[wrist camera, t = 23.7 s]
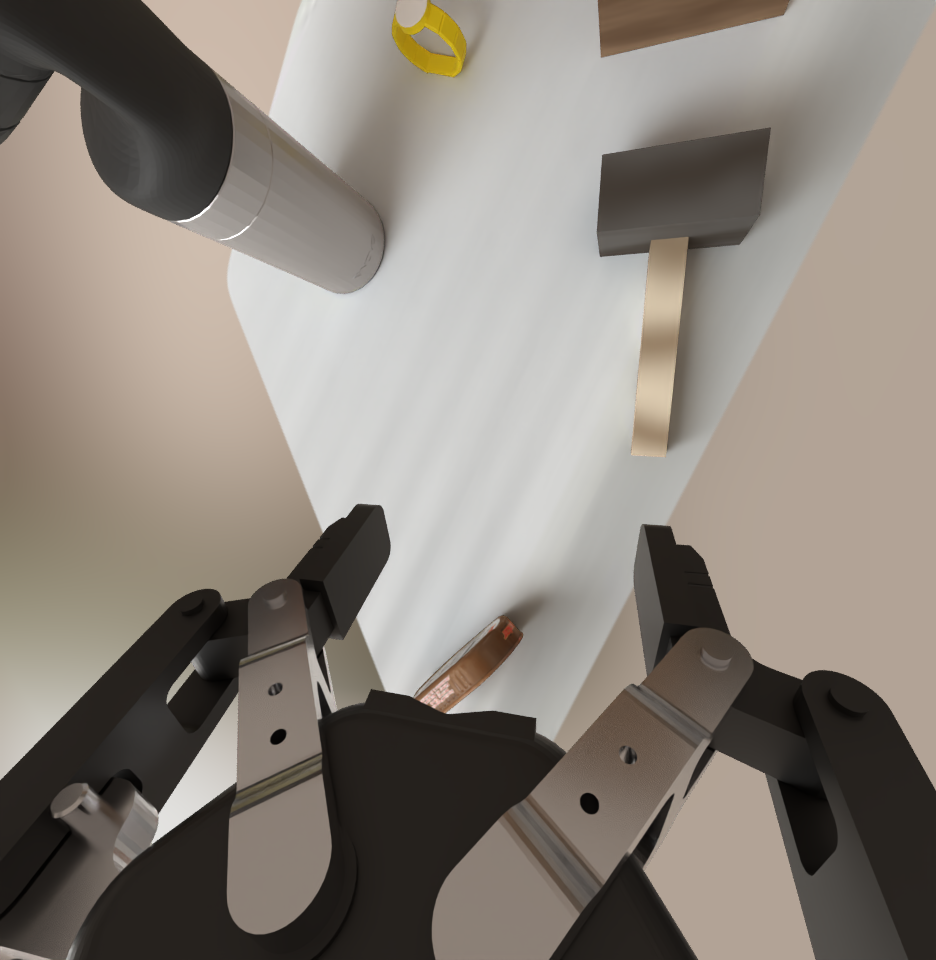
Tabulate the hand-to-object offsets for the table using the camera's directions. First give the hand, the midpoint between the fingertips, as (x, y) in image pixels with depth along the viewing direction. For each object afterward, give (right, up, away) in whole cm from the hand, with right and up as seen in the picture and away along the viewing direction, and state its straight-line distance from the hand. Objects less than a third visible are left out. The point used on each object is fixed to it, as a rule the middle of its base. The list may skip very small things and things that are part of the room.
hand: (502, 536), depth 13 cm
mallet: (+14, +14, +21) cm, 29 cm away
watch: (-3, +38, +24) cm, 45 cm away
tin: (-1, -16, +31) cm, 35 cm away
